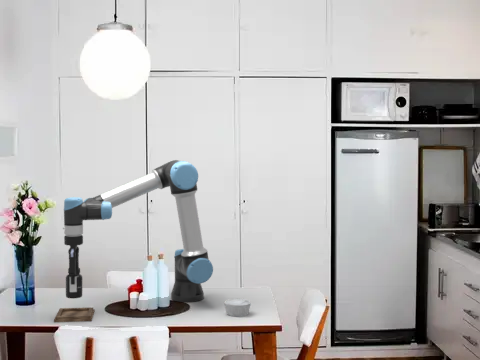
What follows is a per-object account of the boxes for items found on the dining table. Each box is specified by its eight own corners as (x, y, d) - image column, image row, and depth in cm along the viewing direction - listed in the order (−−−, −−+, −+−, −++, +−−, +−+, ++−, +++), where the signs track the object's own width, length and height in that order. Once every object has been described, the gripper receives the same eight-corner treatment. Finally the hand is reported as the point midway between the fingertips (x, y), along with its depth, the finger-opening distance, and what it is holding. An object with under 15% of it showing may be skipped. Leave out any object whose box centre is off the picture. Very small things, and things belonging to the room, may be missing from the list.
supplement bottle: (78, 299, 296) (78, 270, 295) (62, 298, 297) (62, 269, 296) (85, 295, 303) (85, 267, 302) (70, 294, 304) (69, 266, 303)
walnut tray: (94, 311, 309) (94, 307, 309) (91, 321, 294) (91, 316, 294) (58, 312, 307) (58, 307, 307) (53, 322, 292) (53, 317, 292)
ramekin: (252, 316, 302) (252, 304, 301) (226, 318, 300) (226, 305, 300) (248, 310, 313) (248, 298, 312) (222, 311, 311) (222, 299, 311)
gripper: (67, 231, 307) (67, 284, 309) (61, 238, 288) (61, 295, 290) (85, 231, 308) (85, 284, 310) (80, 238, 289) (80, 295, 290)
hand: (74, 289), depth 300 cm, fingers closed on supplement bottle, 7 cm apart
